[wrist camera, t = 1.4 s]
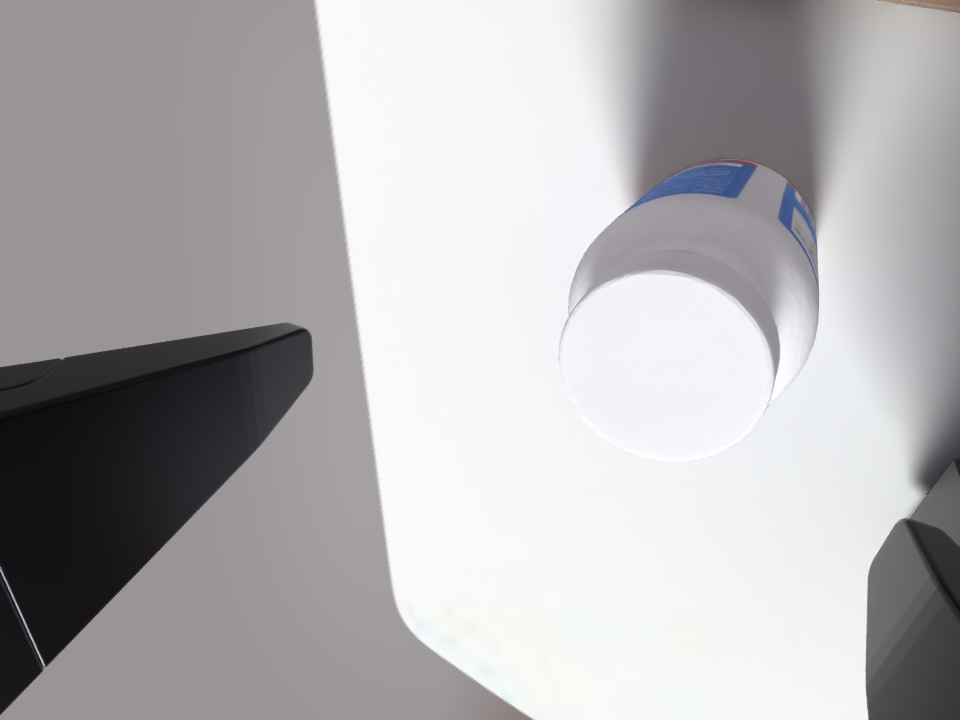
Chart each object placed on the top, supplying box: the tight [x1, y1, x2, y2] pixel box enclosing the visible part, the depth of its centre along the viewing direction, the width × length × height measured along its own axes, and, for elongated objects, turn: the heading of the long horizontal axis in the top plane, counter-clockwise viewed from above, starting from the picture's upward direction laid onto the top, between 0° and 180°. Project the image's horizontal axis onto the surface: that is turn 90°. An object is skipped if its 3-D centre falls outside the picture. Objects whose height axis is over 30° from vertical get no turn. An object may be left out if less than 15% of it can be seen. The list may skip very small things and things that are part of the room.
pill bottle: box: [559, 159, 819, 461], centre depth 15 cm, size 6×5×10 cm
